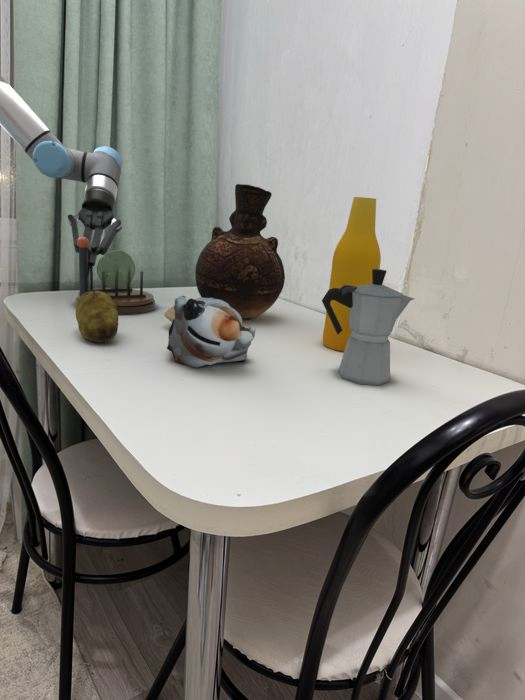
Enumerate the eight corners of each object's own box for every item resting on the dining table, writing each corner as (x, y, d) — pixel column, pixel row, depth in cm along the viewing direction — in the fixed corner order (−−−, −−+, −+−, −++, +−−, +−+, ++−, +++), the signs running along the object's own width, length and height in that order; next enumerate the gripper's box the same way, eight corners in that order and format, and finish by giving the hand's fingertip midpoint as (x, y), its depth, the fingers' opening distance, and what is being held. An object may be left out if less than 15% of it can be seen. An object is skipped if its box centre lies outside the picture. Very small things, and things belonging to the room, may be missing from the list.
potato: (66, 345, 87) (65, 299, 85) (79, 326, 99) (79, 286, 97) (116, 347, 89) (116, 302, 86) (123, 328, 101) (123, 289, 99)
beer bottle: (313, 344, 102) (330, 194, 94) (337, 338, 109) (356, 197, 101) (352, 356, 96) (375, 197, 88) (375, 348, 103) (398, 200, 95)
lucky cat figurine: (258, 355, 91) (276, 295, 81) (228, 398, 82) (245, 338, 73) (186, 320, 93) (195, 258, 84) (149, 359, 85) (155, 295, 75)
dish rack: (90, 308, 108) (90, 240, 104) (66, 292, 121) (65, 232, 117) (165, 304, 118) (167, 243, 114) (136, 290, 131) (137, 235, 127)
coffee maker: (393, 370, 90) (410, 268, 85) (408, 388, 81) (428, 276, 76) (309, 364, 89) (322, 261, 84) (317, 381, 80) (331, 268, 75)
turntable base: (58, 305, 115) (58, 298, 115) (112, 295, 131) (112, 289, 131) (121, 318, 109) (121, 311, 108) (169, 306, 124) (170, 300, 124)
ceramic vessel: (182, 318, 114) (188, 178, 106) (204, 304, 130) (211, 183, 122) (273, 329, 111) (287, 186, 102) (285, 314, 127) (297, 190, 119)
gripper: (126, 212, 131) (114, 287, 120) (76, 207, 129) (59, 282, 118) (124, 190, 124) (110, 268, 113) (71, 185, 122) (52, 263, 111)
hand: (84, 275), depth 116 cm, fingers closed
